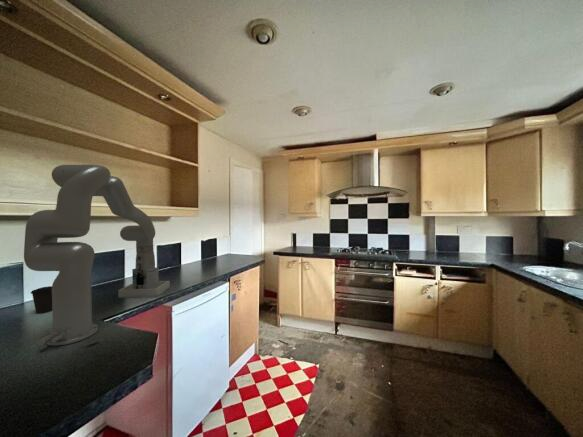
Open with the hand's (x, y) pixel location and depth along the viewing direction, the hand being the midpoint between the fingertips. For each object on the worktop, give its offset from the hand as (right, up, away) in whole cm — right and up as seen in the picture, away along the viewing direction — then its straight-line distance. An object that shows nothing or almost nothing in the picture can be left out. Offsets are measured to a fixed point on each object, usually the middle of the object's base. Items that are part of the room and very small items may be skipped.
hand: (145, 282), depth 118 cm
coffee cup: (-29, -7, -22) cm, 36 cm away
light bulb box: (0, -4, 0) cm, 4 cm away
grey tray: (0, -6, 0) cm, 6 cm away
